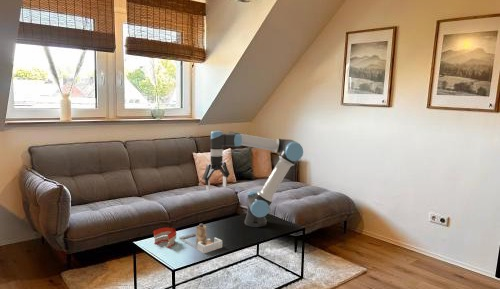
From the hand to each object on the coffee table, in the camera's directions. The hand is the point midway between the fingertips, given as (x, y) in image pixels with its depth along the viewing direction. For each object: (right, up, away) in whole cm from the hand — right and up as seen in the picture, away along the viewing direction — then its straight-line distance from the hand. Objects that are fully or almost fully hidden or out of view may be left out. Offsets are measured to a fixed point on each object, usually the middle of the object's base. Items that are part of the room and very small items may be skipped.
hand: (216, 188), depth 233 cm
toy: (-28, -31, -16) cm, 44 cm away
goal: (-2, -32, -22) cm, 39 cm away
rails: (-10, -30, -13) cm, 35 cm away
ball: (-2, -30, -22) cm, 37 cm away
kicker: (-7, -31, -16) cm, 36 cm away
